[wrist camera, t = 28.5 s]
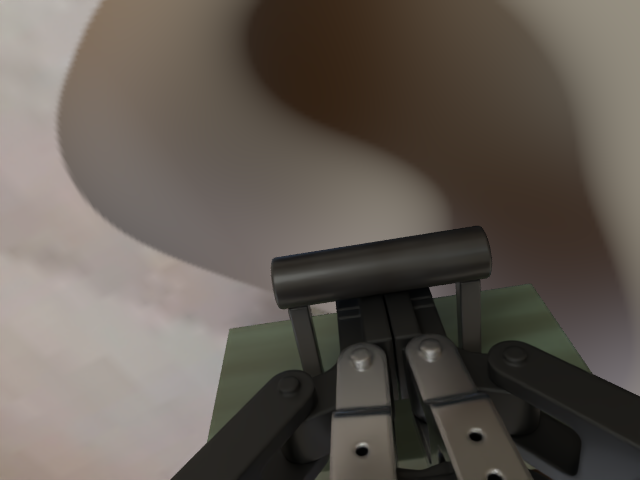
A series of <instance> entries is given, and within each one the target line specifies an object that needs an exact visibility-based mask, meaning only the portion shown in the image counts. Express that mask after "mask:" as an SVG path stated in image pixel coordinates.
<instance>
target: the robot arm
mask: <svg viewBox="0 0 640 480" xmlns="http://www.w3.org/2000/svg"><path fill="white" fill-rule="evenodd" d="M336 309H337V320H338V333H339V344H340V354H339V356H338V359H337V362H336V364H335V365H334V366H333V367H332V368H330V369H329V370H327V371H326V372H324V373H322V374H319V375H317V376H314V377H312V376H311V375H310V374H308V373H307V372H305V371H302V370H287V371H283V372H281V373H279V374H277V375H275V376H274V377H272V378H271V379H270V380H269V381H268V382H267V383H266V384H265V385H264V386H263V387H262V388H261V389H260V390H259V391H258V392H257V393H256V394H255V395H254V396H253V397H252V398H251V399H250V400H249V401H248V402H247V403H246V404H245V405H244V406H243V407H242V408H241V409H240V410H239V411H238V412H237V413H236V414H235V415H234V416H233V417H232V418H231V419H230V420H229V421H228V422H227V423H226V424H225V425H224V426H223V427H222V428H221V429H220V430H219V431H218V432H217V433H216V434H215V435H214V436H213V437H212V438H211V439H210V440H209V441H208V442H207V443H206V444H205V445H204V446H203V447H202V448H201V449H200V450H199V451H198V452H197V453H196V454H195V455H194V456H193V457H192V458H191V459H190V460H189V461H188V462H187V463H186V464H185V465H184V467H183V468H182V469H181V470H180V471H179V472H178V473H177V474H176V475H175V476H174V477H173V478H172V479H171V480H315V478H316V477H317V476H318V475H319V473H320V472H321V471H322V469H323V468H324V467H325V465H326V464H327V462H328V460H329V456H330V477H329V480H550V479H549V478H551V479H552V480H640V396H638V395H636V394H633V393H631V392H629V391H627V390H625V389H623V388H621V387H619V386H617V385H615V384H612V383H610V382H608V381H606V380H604V379H602V378H600V377H598V376H596V375H593V374H591V373H589V372H587V371H585V370H583V369H581V368H579V367H577V366H575V365H572V364H570V363H568V362H566V361H564V360H562V359H560V358H558V357H556V356H553V355H551V354H549V353H547V352H545V351H543V350H541V349H539V348H537V347H535V346H532V345H530V344H528V343H525V342H522V341H516V340H508V341H502V342H499V343H497V344H495V345H493V346H492V347H491V348H490V350H489V351H488V354H487V353H477V352H470V351H466V350H463V349H460V348H458V347H457V346H455V344H454V342H453V341H452V340H451V339H449V338H448V337H447V335H446V332H445V330H444V327H443V324H442V322H441V319H440V316H439V314H438V311H437V308H436V306H435V303H434V300H433V298H432V295H431V292H430V289H429V287H426V288H419V289H413V290H406V291H399V292H393V293H386V294H380V295H373V296H366V297H360V298H353V299H347V300H340V301H336ZM397 381H398V385H399V390H400V395H401V399H410V403H411V408H412V418H413V423H414V426H415V429H416V432H417V435H418V438H419V441H420V444H421V448H422V451H423V454H424V457H425V460H426V463H427V466H428V468H426V469H423V470H414V469H405V468H399V462H398V451H397V441H396V430H395V421H394V419H395V415H396V411H395V403H394V401H396V400H399V393H398V385H397ZM540 410H541V411H540ZM542 411H543V412H545V413H547V414H548V415H547V414H545V413H543V412H542ZM549 415H550V416H552V417H554V418H556V419H557V420H559V421H561V422H563V423H564V424H563V423H561V422H559V421H557V420H556V419H554V418H552V417H550V416H549ZM565 424H566V425H568V426H569V427H568V426H566V425H565ZM570 427H571V428H570ZM524 461H525V462H526V463H528V464H529V465H531V466H532V467H534V468H535V469H537V470H539V471H540V472H542V473H543V474H545V475H546V476H548V477H549V478H547V477H545V476H543V475H541V474H539V473H537V472H535V471H532V470H530V469H528V468H527V466H526V464H525V462H524Z"/></svg>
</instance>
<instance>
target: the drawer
mask: <svg viewBox="0 0 640 480" xmlns="http://www.w3.org/2000/svg"><path fill="white" fill-rule="evenodd" d="M491 269H492V257H491V251H490V245H489V242H488V238H487V236H486V234H485V232H484V230H483V228H482V227H480V226H472V227H466V228H460V229H453V230H447V231H441V232H434V233H428V234H422V235H416V236H409V237H403V238H396V239H390V240H384V241H377V242H372V243H365V244H359V245H352V246H346V247H339V248H334V249H327V250H321V251H314V252H308V253H301V254H295V255H289V256H282V257H276V258H274V259H272V263H271V277H272V285H273V291H274V296H275V300H276V303H277V305H278V307H279V308H280V309H287V308H288V312H289V316H290V320H286V321H279V322H272V323H266V324H259V325H253V326H246V327H239V328H233V329H230V330H229V335H228V340H227V345H226V350H225V355H224V360H223V365H222V370H221V375H220V380H219V385H218V390H217V395H216V400H215V405H214V410H213V415H212V420H211V425H210V430H209V435H208V440H207V442H208V441H209V440H210V439H211V438H212V437H213V436H214V435H215V434H216V433H217V432H218V431H219V430H220V429H221V428H222V427H223V426H224V425H225V424H226V423H227V422H228V421H229V420H230V419H231V418H232V417H233V416H234V415H235V414H236V413H237V412H238V411H239V410H240V409H241V408H242V407H243V406H244V405H245V404H246V403H247V402H248V401H249V400H250V399H251V398H252V397H253V396H254V395H255V394H256V393H257V392H258V391H259V390H260V389H261V388H262V387H263V386H264V385H265V384H266V383H267V382H268V381H269V380H270V379H271V378H272V377H274V376H275V375H277V374H279V373H281V372H283V371H287V370H302V371H305V372H307V373H308V374H310V375H311V376H312V377H314V376H317V375H319V374H322V373H324V372H326V371H327V370H329V369H330V368H332V367H333V366H334V365H335V364H336V362H337V359H338V356H339V354H340V344H339V333H338V320H337V313H332V314H326V315H319V316H312V313H311V309H310V305H314V304H320V303H327V302H334V301H340V300H347V299H353V298H360V297H366V296H373V295H380V294H386V293H393V292H399V291H406V290H413V289H419V288H426V287H432V286H438V285H445V284H452V283H456V295H452V296H446V297H438V298H433V300H434V303H435V306H436V308H437V311H438V314H439V316H440V319H441V322H442V324H443V327H444V330H445V332H446V335H447V337H448V338H449V339H451V340H452V341H453V342H454V344H455V346H457V347H458V348H460V349H463V350H466V351H470V352H477V353H487V354H488V351H489V350H490V348H491V347H492V346H493V345H495V344H497V343H499V342H502V341H508V340H516V341H522V342H525V343H528V344H530V345H532V346H535V347H537V348H539V349H541V350H543V351H545V352H547V353H549V354H551V355H553V356H556V357H558V358H560V359H562V360H564V361H566V362H568V363H570V364H572V365H575V366H577V367H579V368H581V369H583V370H585V371H587V372H589V373H591V374H592V372H591V371H590V370H589V368H588V366H587V365H586V364H585V362H584V361H583V359H582V358H581V356H580V355H579V353H578V352H577V350H576V349H575V347H574V346H573V345H572V343H571V342H570V340H569V339H568V337H567V336H566V334H565V333H564V331H563V330H562V328H561V327H560V326H559V324H558V322H557V321H556V320H555V318H554V317H553V315H552V314H551V312H550V311H549V309H548V308H547V306H546V305H545V303H544V302H543V300H542V299H541V298H540V296H539V295H538V293H537V292H536V290H535V289H534V287H533V286H532V284H525V285H518V286H512V287H505V288H498V289H492V290H485V291H481V289H480V279H485V278H488V277H489V276H490V275H491ZM397 385H398V381H397ZM398 393H399V400H396V401H394V403H395V411H396V415H395V419H394V421H395V430H396V441H397V451H398V462H399V468H405V469H414V470H423V469H426V468H428V466H427V463H426V460H425V457H424V454H423V451H422V448H421V444H420V441H419V438H418V435H417V432H416V429H415V426H414V423H413V418H412V408H411V403H410V399H401V395H400V390H399V385H398ZM540 411H541V410H540ZM542 412H543V411H542ZM543 413H545V412H543ZM545 414H547V413H545ZM547 415H548V414H547ZM549 416H550V415H549ZM550 417H552V416H550ZM552 418H554V417H552ZM554 419H556V418H554ZM556 420H557V419H556ZM557 421H559V420H557ZM559 422H561V421H559ZM561 423H563V422H561ZM563 424H564V423H563ZM565 425H566V424H565ZM566 426H568V425H566ZM568 427H569V426H568ZM570 428H571V427H570ZM524 462H525V461H524ZM525 464H526V466H527V468H528V469H530V470H532V471H535V472H537V473H539V474H541V475H543V476H545V477H547V478H549V477H548V476H546V475H545V474H543V473H542V472H540V471H539V470H537V469H535V468H534V467H532V466H531V465H529V464H528V463H526V462H525ZM329 477H330V456H329V460H328V462H327V464H326V465H325V467H324V468H323V469H322V471H321V472H320V473H319V475H318V476H317V477H316V478H315V480H329ZM549 479H550V480H552V479H551V478H549Z"/></svg>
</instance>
